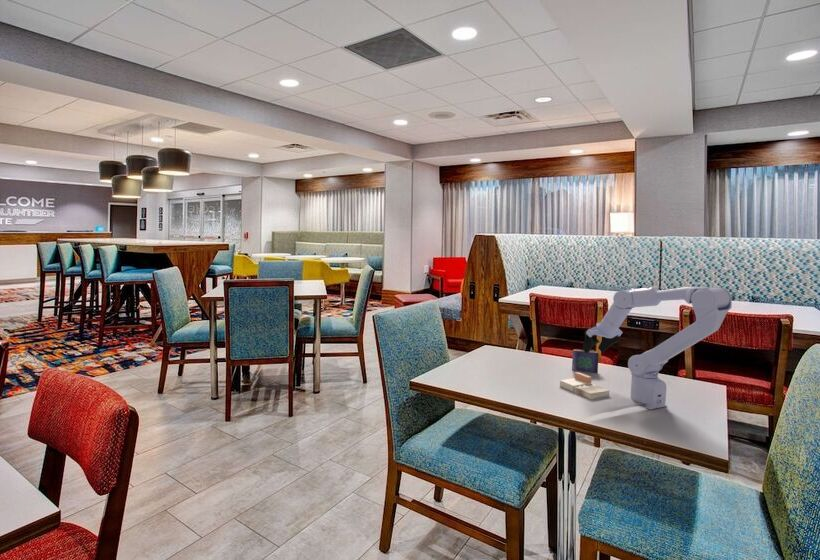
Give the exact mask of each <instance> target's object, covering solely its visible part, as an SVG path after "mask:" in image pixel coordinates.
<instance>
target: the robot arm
mask: <svg viewBox="0 0 820 560" xmlns="http://www.w3.org/2000/svg"><path fill="white" fill-rule="evenodd" d="M612 299H613V302H612V304H611V305H610V306H609V308H608V310H607V312H606V313H605V315H604V316H603V318H602V319H601V321H600V322H596V324H595V326H593V327H592V328H588V329H586V330H585V331H584V342H583V345H582V350H584V352H585V353H588V352H589V351H590V350H593V347H595V346H596V345H597V344H598V343H599V345H598V347H597V349H598V350H599V351H600V352H601V353H604V352H605V351H606V350H608V349H609V348H610V347H612V346H613V345H615V344H616V343H619V342H620V341H621V340H620V338H619V337H621V335H622V334H623V331H622V330H621V329H620V327H621V325H622V324H623V322H624V321H625V320H626V318H627V317H628V315H629V314H630V313H631V310H632V309H635V308H644V307H657V306H658V305H659V304H661V302H663V301H666V302H667V301H680V300H681V301H682V300H684V301H685V302H686V303H687V304H689V305H690V304H691V306H692V309H693V312H694V315H695V321H694V322H693V323H692V324H689V325H688V326H687V327H685V328H684V329H682V330H680V331H678V332H677V333H676V334H675V333H674V335H672V336H670V337H669V338H668V339H666V340H664V341H663V342H661V343H659V344H658V345H656V346H654V347H653V348H652V349H651V348H650V349H649V350H646V351H645V352H643V353H641V354H635V355H632V356H630V357H629V359H628V361H627V367H628V370H629V372H630V373H631V384H630V399H631V400H633V401H635V402H639V403H642V404H640V405H638V406H639V407H641V408H645V409H646V410H655V409H659V408H663V407H664V408H665V407H667V406H668V405H667V403H666V400H667V399H666V398H667V384H666V382H665V381H664V380H663V379H660V378H659V372H660V371H661V370H662V369H663V366H664V365H665V364H666V363H668V362H669V360H670V359H672V358H674V357H675V356H677V355H678V354H680V353H682V352H684V351H685V350H687V349H689V348H691V347H693V346H694V345H695V344H697V343H699V342H700V341H702V340H704V339H706V338H708V337H709V336H710V335H711V336H712V334H714V333H716V332H717V331H718V330H719V329H720V327H721V325H722V324H723V322H724V320H725V319H726V315H727V314H728V312H729V311H730V310H731V309H732V306H733V305H732V303H733V302H732V294H731V292H730V291H729V290H728V289H726V288H725V287H723V286H722V287H721V286H716V287H709V286H687V287H678V288H672V289H670V288H669V289H666V290H665V289H663V290H659V289H658V288H657V287H654V286H652V285H644V288H642V287H641V288H636V287H631V288H630V289H625V290H624V289H621V290H619V291H617V292H615V293H614V295H613V298H612ZM597 336H599V337H602V339H601V342H600V341H599V339H598V338H597Z"/></svg>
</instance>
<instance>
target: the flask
mask: <svg viewBox="0 0 820 560" xmlns="http://www.w3.org/2000/svg"><path fill="white" fill-rule="evenodd" d="M571 362H572V363H571V370H572V371H575V372H578V371H579V372H586V373H592V374H598V373H599V372H598V371H599V370H598V369H599V352H598V351H595V350H594V349H591V350H590V351H589V352H588V353H585V352H584V350H583V349H573V350H572V361H571Z"/></svg>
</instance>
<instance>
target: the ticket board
mask: <svg viewBox="0 0 820 560" xmlns="http://www.w3.org/2000/svg"><path fill="white" fill-rule="evenodd" d="M573 393H574V394H577V395H579V396H582V397H584V398H587V399H589V400H595V399H599V398H600V399H601V398H607V397H610V389H607V388H604V387H602V386H600V385H596V384H594V383H591V384H589V385H582V386H576V387H574V392H573Z"/></svg>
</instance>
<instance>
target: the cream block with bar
mask: <svg viewBox="0 0 820 560" xmlns="http://www.w3.org/2000/svg"><path fill="white" fill-rule="evenodd" d="M573 376H574V377H573V378H566V379H561V380H559V387H561V388H563V389H566V390H568V391H570V392H573V393H574V387H576V386H582V385H589V384H592V379H593V378H592V376H590V375H588V374H585V373H582V372H580V371H579V372H578V371H575V372H574V375H573Z"/></svg>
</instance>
